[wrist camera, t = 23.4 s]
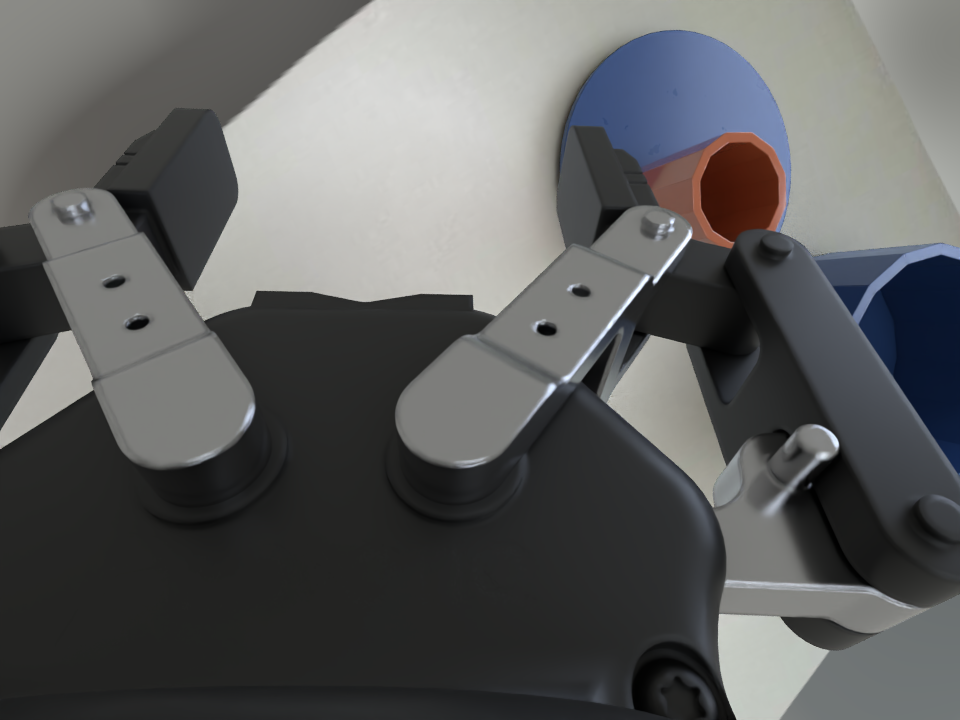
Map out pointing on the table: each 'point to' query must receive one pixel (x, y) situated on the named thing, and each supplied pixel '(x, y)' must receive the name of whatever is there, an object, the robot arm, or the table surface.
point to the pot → (910, 324)
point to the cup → (722, 186)
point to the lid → (677, 98)
